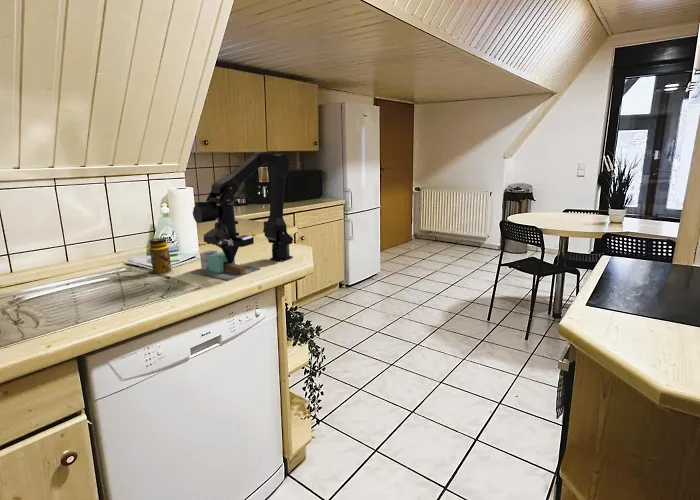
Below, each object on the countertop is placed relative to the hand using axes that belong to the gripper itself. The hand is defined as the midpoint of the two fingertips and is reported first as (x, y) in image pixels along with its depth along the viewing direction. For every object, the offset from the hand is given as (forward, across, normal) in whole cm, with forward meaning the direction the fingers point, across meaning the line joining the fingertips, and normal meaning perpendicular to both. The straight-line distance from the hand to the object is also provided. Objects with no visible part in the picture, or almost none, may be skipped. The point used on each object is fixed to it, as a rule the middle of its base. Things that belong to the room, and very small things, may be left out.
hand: (230, 263), depth 140 cm
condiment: (+4, -23, -12) cm, 26 cm away
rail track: (+3, -3, 0) cm, 5 cm away
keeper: (+3, -5, 0) cm, 6 cm away
